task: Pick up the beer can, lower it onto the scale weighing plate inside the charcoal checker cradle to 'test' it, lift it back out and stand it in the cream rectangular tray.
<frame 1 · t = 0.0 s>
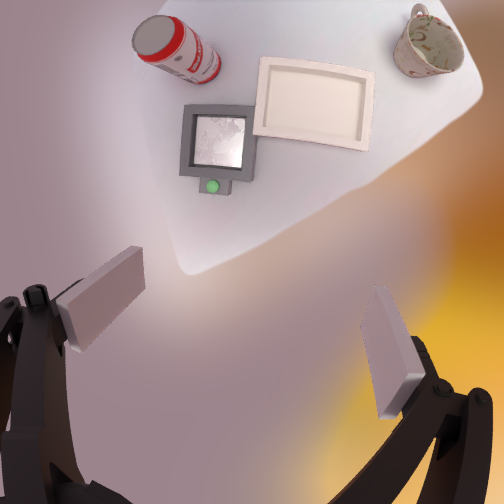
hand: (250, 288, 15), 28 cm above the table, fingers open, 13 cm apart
cream rectangular tray: (314, 104, 35), on the table
scale weighing plate: (219, 141, 39), point 1 cm above the table, slide at -0.9 cm
beer can: (203, 67, 35), on the table
mug: (409, 49, 28), on the table
checker cradle: (220, 141, 39), on the table
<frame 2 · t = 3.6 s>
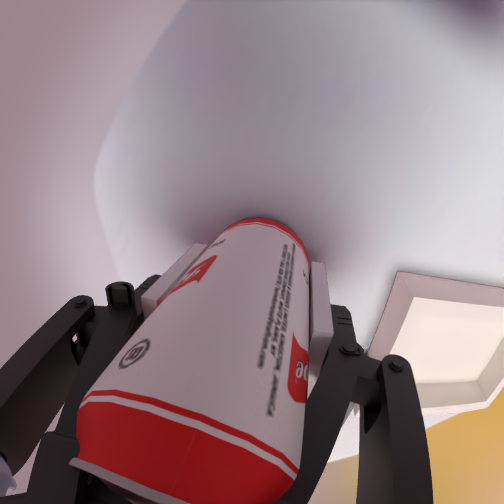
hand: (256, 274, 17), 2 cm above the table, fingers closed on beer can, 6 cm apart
cream rectangular tray: (450, 342, 18), on the table
scale weighing plate: (290, 394, 22), point 1 cm above the table, slide at -0.9 cm
beer can: (261, 258, 19), on the table, touching gripper
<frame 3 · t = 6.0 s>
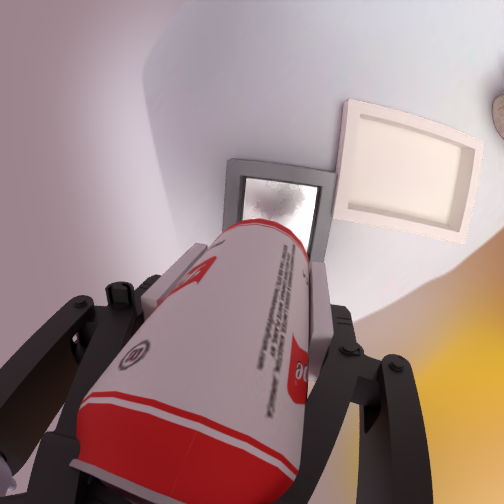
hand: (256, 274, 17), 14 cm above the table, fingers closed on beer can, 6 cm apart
cream rectangular tray: (406, 172, 25), on the table
scale weighing plate: (277, 215, 29), point 1 cm above the table, slide at -0.9 cm
beer can: (261, 259, 19), point 12 cm above the table, touching gripper
checker cradle: (278, 214, 30), on the table
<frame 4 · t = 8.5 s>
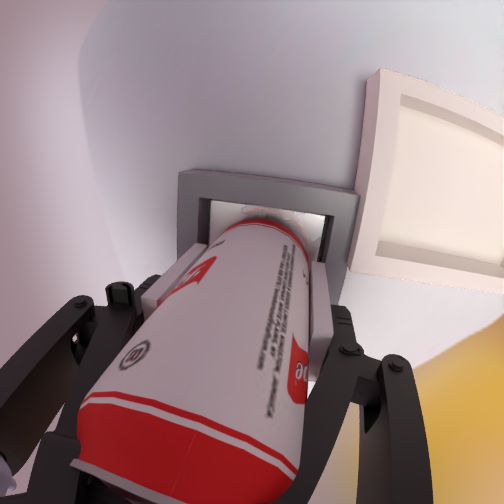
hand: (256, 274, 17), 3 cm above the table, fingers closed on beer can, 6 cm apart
cream rectangular tray: (456, 191, 15), on the table
scale weighing plate: (261, 258, 19), point 1 cm above the table, slide at -0.9 cm, touching beer can
beer can: (261, 259, 19), point 1 cm above the table, touching scale weighing plate, gripper
checker cradle: (263, 255, 19), on the table
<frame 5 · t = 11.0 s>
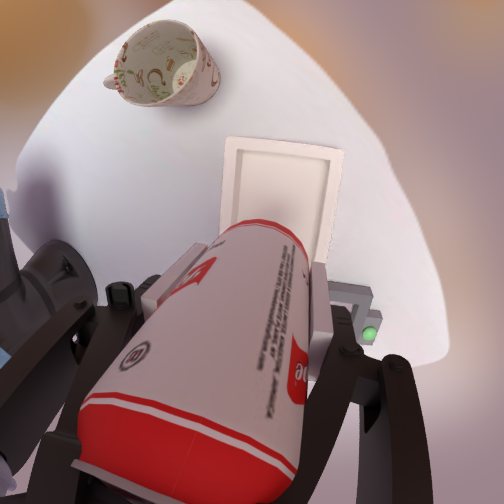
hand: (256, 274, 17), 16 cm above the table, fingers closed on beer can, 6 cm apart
cream rectangular tray: (279, 211, 31), on the table
scale weighing plate: (319, 320, 34), point 1 cm above the table, slide at -0.9 cm
beer can: (261, 259, 19), point 13 cm above the table, touching gripper
mug: (179, 84, 28), on the table
checker cradle: (319, 317, 35), on the table
when the fingers open (4 cm above the table, at t = 13.5 s): beer can drops 1 cm, resting on cream rectangular tray.
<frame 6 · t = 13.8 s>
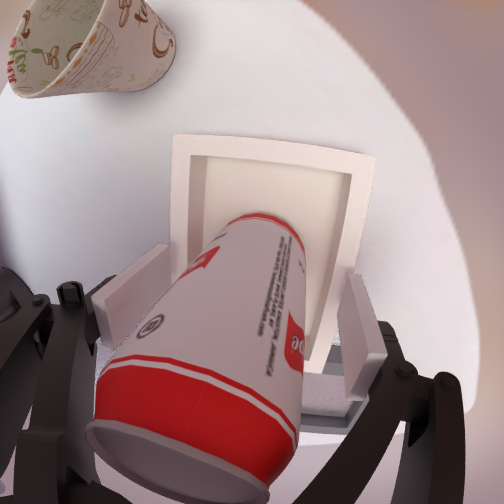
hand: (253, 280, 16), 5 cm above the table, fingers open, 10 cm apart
cream rectangular tray: (265, 250, 20), on the table
scale weighing plate: (320, 390, 24), point 1 cm above the table, slide at -0.9 cm
beer can: (261, 252, 20), resting on cream rectangular tray
mug: (121, 64, 17), on the table
checker cradle: (320, 386, 24), on the table
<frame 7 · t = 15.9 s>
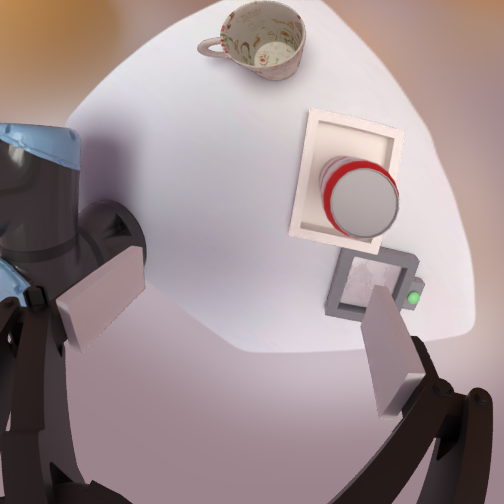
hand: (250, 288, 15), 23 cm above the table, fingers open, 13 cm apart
cream rectangular tray: (344, 179, 33), on the table
scale weighing plate: (370, 283, 37), point 1 cm above the table, slide at -0.9 cm
beer can: (343, 180, 33), resting on cream rectangular tray
mug: (260, 61, 30), on the table
checker cradle: (370, 282, 37), on the table
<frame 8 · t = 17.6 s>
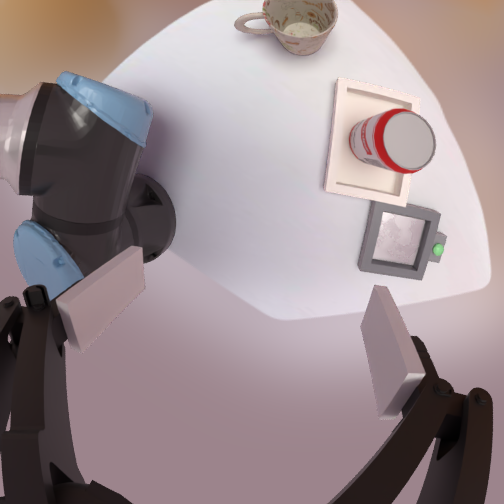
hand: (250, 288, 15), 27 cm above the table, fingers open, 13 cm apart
cream rectangular tray: (370, 142, 34), on the table
scale weighing plate: (398, 238, 38), point 1 cm above the table, slide at -0.9 cm
beer can: (369, 142, 34), resting on cream rectangular tray
mug: (286, 38, 31), on the table
checker cradle: (397, 237, 38), on the table
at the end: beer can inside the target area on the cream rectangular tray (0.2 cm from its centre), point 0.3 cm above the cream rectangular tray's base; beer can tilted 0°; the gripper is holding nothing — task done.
